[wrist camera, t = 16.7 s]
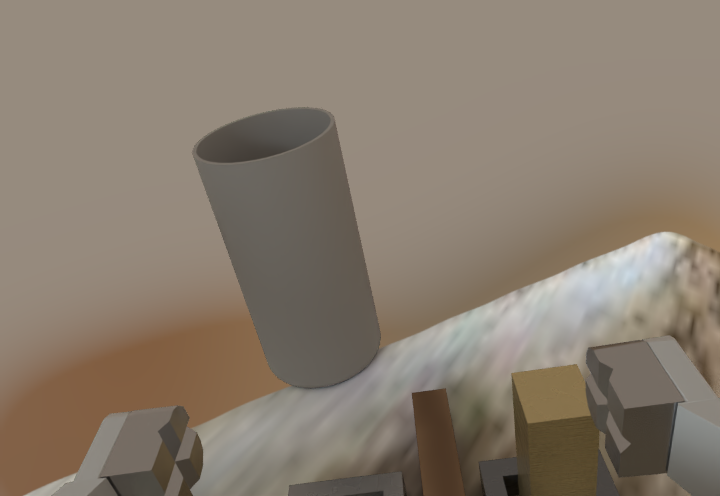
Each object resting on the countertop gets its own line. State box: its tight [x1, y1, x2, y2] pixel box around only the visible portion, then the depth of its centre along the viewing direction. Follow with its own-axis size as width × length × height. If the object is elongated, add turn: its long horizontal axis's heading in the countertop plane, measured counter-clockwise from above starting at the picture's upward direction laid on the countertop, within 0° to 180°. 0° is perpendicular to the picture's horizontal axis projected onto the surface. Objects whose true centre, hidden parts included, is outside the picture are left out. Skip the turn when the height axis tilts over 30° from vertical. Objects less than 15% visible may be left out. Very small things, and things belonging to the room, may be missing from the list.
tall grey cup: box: [192, 107, 381, 388], centre depth 56 cm, size 12×12×25 cm
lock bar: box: [511, 364, 599, 496], centre depth 37 cm, size 4×4×14 cm
